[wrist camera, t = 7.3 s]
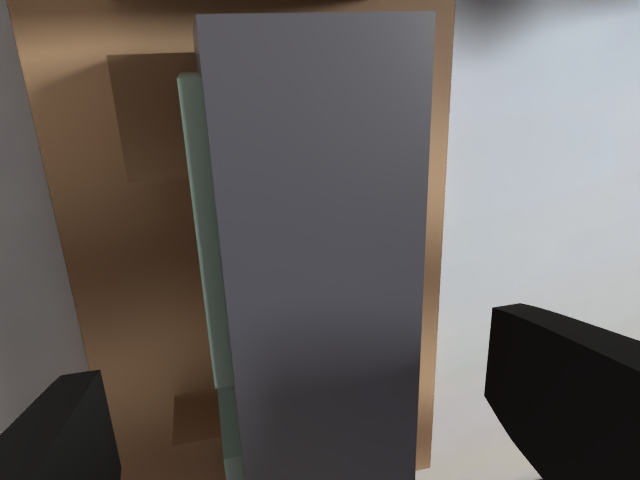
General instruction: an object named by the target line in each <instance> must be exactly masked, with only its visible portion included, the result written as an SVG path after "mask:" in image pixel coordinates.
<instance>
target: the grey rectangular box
mask: <svg viewBox="0 0 640 480" xmlns="http://www.w3.org/2000/svg"><path fill="white" fill-rule="evenodd" d="M435 18H436V11H384V12H315V13H246V14H195V19H194V25H193V31H192V32H193V42H194V51H195V60H196V69H197V72H180V73H179V75H178V77H177V84H178V92H179V100H180V108H181V116H182V125H183V133H184V141H185V149H186V157H187V165H188V173H189V182H190V190H191V198H192V206H193V214H194V222H195V230H196V239H197V247H198V255H199V263H200V271H201V279H202V287H203V296H204V304H205V312H206V320H207V328H208V336H209V345H210V353H211V361H212V369H213V377H214V385H215V389H216V388H217V391H218V402H219V414H220V425H221V436H222V447H223V458H224V467H225V475H226V480H415V469H416V446H417V424H418V401H419V378H420V356H421V333H422V311H423V288H424V266H425V243H426V221H427V198H428V175H429V153H430V130H431V108H432V85H433V63H434V40H435Z"/></svg>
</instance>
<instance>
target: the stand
mask: <svg viewBox="0 0 640 480" xmlns="http://www.w3.org/2000/svg"><path fill="white" fill-rule="evenodd" d="M6 1H7V5H8V10H9V14H10V19H11V23H12V27H13V32H14V36H15V41H16V45H17V50H18V54H19V59H20V63H21V67H22V72H23V76H24V81H25V85H26V90H27V94H28V99H29V103H30V107H31V112H32V116H33V121H34V125H35V130H36V134H37V139H38V143H39V147H40V152H41V156H42V161H43V165H44V170H45V174H46V179H47V183H48V187H49V192H50V196H51V201H52V205H53V210H54V214H55V219H56V223H57V227H58V232H59V236H60V241H61V245H62V250H63V254H64V258H65V263H66V267H67V272H68V276H69V281H70V285H71V290H72V294H73V298H74V303H75V307H76V312H77V316H78V321H79V325H80V330H81V334H82V338H83V343H84V347H85V352H86V356H87V361H88V365H89V370H90V371H93V370H101V375H102V379H103V384H104V389H105V393H106V398H107V403H108V407H109V412H110V417H111V421H112V426H113V430H114V435H115V440H116V444H117V449H118V454H119V458H120V463H121V480H226V475H225V467H224V458H223V447H222V436H221V425H220V414H219V402H218V391H217V388H216V389H215V385H214V377H213V369H212V361H211V353H210V345H209V336H208V328H207V320H206V312H205V304H204V296H203V287H202V279H201V271H200V263H199V255H198V247H197V239H196V230H195V222H194V214H193V206H192V198H191V190H190V182H189V173H188V165H187V157H186V149H185V141H184V133H183V125H182V116H181V108H180V100H179V92H178V84H177V77H178V75H179V73H180V72H197V69H196V60H195V51H194V42H193V32H192V31H193V25H194V19H195V14H246V13H315V12H384V11H436V18H435V40H434V63H433V85H432V108H431V130H430V153H429V175H428V198H427V221H426V243H425V266H424V288H423V311H422V333H421V356H420V378H419V401H418V424H417V446H416V469H415V471H417V470H421V469H426V468H430V459H431V441H432V423H433V404H434V386H435V367H436V349H437V330H438V312H439V294H440V275H441V257H442V238H443V220H444V201H445V183H446V165H447V146H448V128H449V109H450V91H451V72H452V54H453V36H454V17H455V0H6Z"/></svg>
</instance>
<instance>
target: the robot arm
mask: <svg viewBox="0 0 640 480" xmlns="http://www.w3.org/2000/svg"><path fill="white" fill-rule="evenodd" d="M484 396H485V398H486V399H487V401H488V403H489V404H490V406H491V408H492V409H493V411H494V413H495V414H496V416H497V418H498V419H499V421H500V423H501V424H502V426H503V427H504V429H505V430H506V432H507V433H508V435H509V437H510V438H511V440H512V441H513V442H514V444H515V445H516V446H517V447H518V449H519V450H520V451H521V452H522V454H523V455H524V456H525V457H526V459H527V460H528V461H529V462H530V464H531V465H532V466H533V467H534V468H535V470H536V471H537V472H538V473H539V475H540V476H541V477H542V478H543V480H640V341H638V340H635V339H632V338H629V337H626V336H623V335H620V334H617V333H614V332H612V331H609V330H606V329H603V328H600V327H597V326H594V325H591V324H588V323H585V322H582V321H579V320H576V319H573V318H570V317H567V316H564V315H561V314H558V313H555V312H552V311H548V310H545V309H542V308H538V307H534V306H530V305H526V304H521V303H519V304H513V305H507V306H500V307H494V308H492V318H491V329H490V340H489V350H488V361H487V372H486V382H485V393H484ZM0 480H121V463H120V458H119V454H118V449H117V444H116V440H115V435H114V430H113V426H112V421H111V417H110V412H109V407H108V403H107V398H106V393H105V389H104V384H103V379H102V375H101V370H93V371H87V372H81V373H74V374H68V375H62V376H60V377H59V378H58V379H56V380H55V381H54V382H53V383H52V384H51V385H50V386H49V387H48V388H47V389H46V390H45V391H44V392H43V393H42V394H41V395H40V396H39V397H38V398H37V399H36V400H35V401H34V402H33V403H32V404H31V405H30V406H29V407H28V408H27V409H26V410H25V411H24V412H23V413H22V414H21V415H20V416H19V417H18V418H17V419H16V420H15V421H14V422H13V423H12V424H11V425H10V426H9V427H8V428H7V429H6V430H5V431H4V432H3V433H2V434H1V435H0Z"/></svg>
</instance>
